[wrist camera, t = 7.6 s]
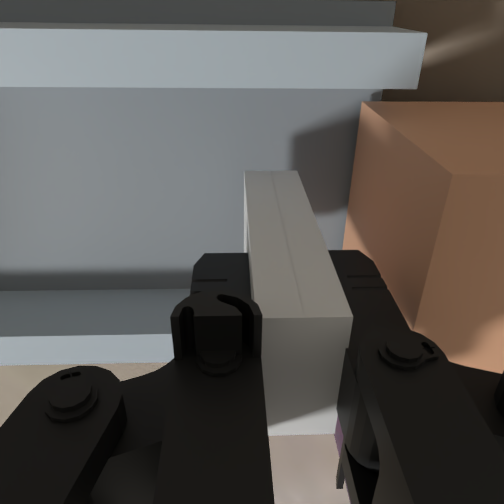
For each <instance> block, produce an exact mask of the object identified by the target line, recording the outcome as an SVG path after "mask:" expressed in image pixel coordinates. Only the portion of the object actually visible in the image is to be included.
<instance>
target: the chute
mask: <svg viewBox="0 0 504 504" xmlns="http://www.w3.org/2000/svg"><path fill="white" fill-rule="evenodd" d="M395 7H396V1H358V0H0V366H1V365H52V364H102V363H153V362H170V361H171V360H172V359H173V358H174V351H173V341H172V332H171V322H170V316H171V314H172V312H173V310H174V308H175V306H176V305H177V304H179V303H180V302H181V301H182V300H184V299H185V298H186V297H188V296H190V289H191V282H192V274H193V267H194V264H195V263H196V262H197V261H198V260H199V259H200V258H201V257H202V255H203V254H204V253H244V171H297V172H298V174H299V177H300V179H301V182H302V185H303V187H304V190H305V192H306V195H307V198H308V200H309V203H310V205H311V208H312V211H313V213H314V216H315V218H316V221H317V224H318V226H319V229H320V231H321V234H322V237H323V239H324V242H325V244H326V247H327V250H342V247H343V240H344V232H345V225H346V217H347V210H348V202H349V194H350V187H351V179H352V172H353V164H354V157H355V149H356V141H357V134H358V126H359V119H360V111H361V103H362V101H381V99H382V92H383V89H417V87H418V82H419V76H420V71H421V66H422V60H423V55H424V50H425V45H426V39H427V34H428V33H425V32H420V31H415V30H409V29H404V28H398V27H393V20H394V14H395Z"/></svg>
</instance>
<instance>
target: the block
mask: <svg viewBox="0 0 504 504" xmlns="http://www.w3.org/2000/svg"><path fill="white" fill-rule="evenodd" d="M342 250H359V251H361V252H362V253H363V254H365V255H366V256H367V257H369V258H370V259H371V260H373V261H374V263H375V265H376V267H377V268H378V270H379V272H380V274H381V278H383V280H384V281H385V283H386V285H387V290H389V291H390V292H391V294H392V296H393V298H394V300H395V302H396V304H397V305H398V307H399V309H400V311H401V313H402V315H403V316H404V318H405V320H406V322H407V324H408V326H409V328H410V329H411V330H412V331H415V332H417V333H420V334H422V335H424V336H425V337H427V338H429V339H430V340H432V341H433V342H435V343H436V344H437V345H438V347H439V348H440V349H441V350H442V351H443V352H444V353H445V355H446V357H447V358H448V360H449V361H450V362H453V363H456V364H460V365H463V366H467V367H472V368H477V369H482V370H486V371H491V372H496V373H501V374H502V373H503V371H504V102H387V101H362V103H361V111H360V119H359V126H358V134H357V141H356V149H355V157H354V164H353V172H352V179H351V187H350V194H349V202H348V210H347V217H346V225H345V232H344V240H343V247H342Z"/></svg>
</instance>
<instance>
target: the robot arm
mask: <svg viewBox="0 0 504 504" xmlns="http://www.w3.org/2000/svg"><path fill="white" fill-rule="evenodd" d="M170 322H171V332H172V341H173V351H174V358H173V359H172V360H171V361H170V362H169V363H168V364H167V365H165V366H163V367H161V368H160V369H158V370H156V371H154V372H151V373H148V374H146V375H143V376H139V377H136V378H132V379H128V380H125V381H121V382H120V380H119V379H118V378H117V377H116V376H115V375H114V374H113V373H112V372H111V371H109V370H106V369H103V368H101V367H98V366H76V367H72V368H69V369H65V370H61V371H59V372H57V373H55V374H53V375H51V376H49V377H47V378H45V379H44V380H42V381H41V382H40V383H39V384H38V385H37V386H36V387H35V388H33V389H32V390H31V391H30V392H29V393H28V394H27V396H26V397H25V398H24V399H23V400H22V402H21V403H20V404H19V405H18V407H17V408H16V409H15V410H14V411H13V413H12V414H11V415H10V416H9V418H8V419H7V420H6V421H5V422H4V424H3V425H2V426H1V427H0V504H274V494H273V482H272V471H271V460H270V449H269V438H268V436H276V435H310V434H335V428H336V422H337V416H338V417H339V421H340V425H341V429H342V433H343V442H342V447H341V453H340V459H339V464H338V470H337V476H336V488H337V489H343V484H344V479H345V480H346V484H347V488H348V493H349V497H350V501H351V504H504V371H503V373H502V374H501V373H496V372H491V371H486V370H482V369H477V368H472V367H467V366H463V365H460V364H456V363H453V362H450V361H449V360H448V358H447V357H446V355H445V353H444V352H443V351H442V350H441V349H440V348H439V347H438V345H437V344H436V343H435V342H433V341H432V340H430V339H429V338H427V337H425V336H424V335H422V334H420V333H417V332H415V331H412V330H411V329H410V328H409V326H408V324H407V322H406V320H405V318H404V316H403V315H402V313H401V311H400V309H399V307H398V305H397V304H396V302H395V300H394V298H393V296H392V294H391V292H390V291H389V290H387V285H386V283H385V281H384V280H383V278H381V274H380V272H379V270H378V268H377V267H376V265H375V263H374V261H373V260H371V259H370V258H369V257H367V256H366V255H365V254H363V253H362V252H361V251H359V250H327V247H326V244H325V242H324V239H323V237H322V234H321V231H320V229H319V226H318V224H317V221H316V218H315V216H314V213H313V211H312V208H311V205H310V203H309V200H308V198H307V195H306V192H305V190H304V187H303V185H302V182H301V179H300V177H299V174H298V172H297V171H244V253H204V254H203V255H202V257H201V258H200V259H199V260H198V261H197V262H196V263H195V264H194V267H193V274H192V282H191V289H190V296H188V297H186V298H185V299H184V300H182V301H181V302H180V303H179V304H177V305H176V306H175V308H174V310H173V312H172V314H171V316H170Z"/></svg>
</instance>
